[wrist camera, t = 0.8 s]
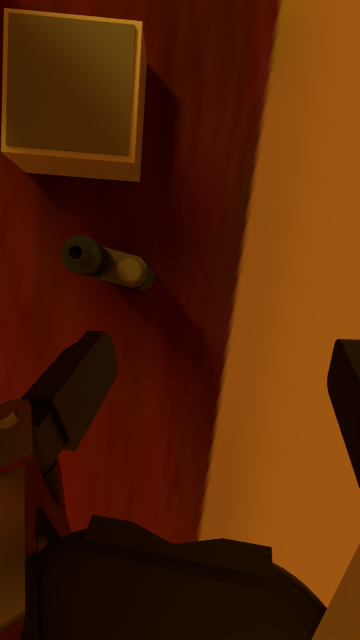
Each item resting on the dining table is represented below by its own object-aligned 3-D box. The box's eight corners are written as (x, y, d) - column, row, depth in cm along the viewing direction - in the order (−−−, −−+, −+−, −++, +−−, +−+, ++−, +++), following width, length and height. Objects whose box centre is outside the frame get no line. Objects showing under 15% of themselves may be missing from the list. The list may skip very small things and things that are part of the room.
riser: (25, 172, 28) (-1, 150, 23) (29, 51, 27) (2, 4, 23) (139, 182, 28) (133, 161, 24) (146, 62, 27) (142, 18, 23)
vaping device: (107, 254, 28) (58, 223, 16) (158, 268, 29) (147, 248, 17) (100, 280, 29) (48, 267, 17) (151, 293, 29) (136, 291, 17)
